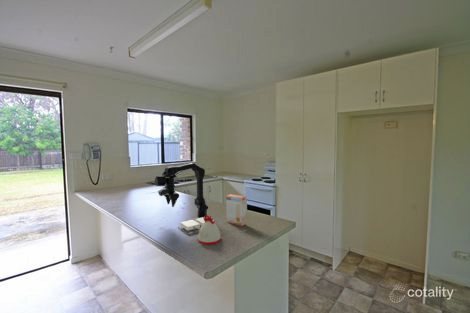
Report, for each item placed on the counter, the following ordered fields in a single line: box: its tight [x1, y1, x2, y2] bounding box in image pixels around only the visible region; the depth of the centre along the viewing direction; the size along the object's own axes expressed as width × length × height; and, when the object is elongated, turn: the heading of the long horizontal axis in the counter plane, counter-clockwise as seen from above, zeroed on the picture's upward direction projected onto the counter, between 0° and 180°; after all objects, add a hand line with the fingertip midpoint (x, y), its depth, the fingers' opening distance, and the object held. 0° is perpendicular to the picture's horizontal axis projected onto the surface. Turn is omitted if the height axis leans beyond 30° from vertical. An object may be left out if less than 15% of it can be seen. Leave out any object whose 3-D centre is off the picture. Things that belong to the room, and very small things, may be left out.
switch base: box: [177, 225, 201, 236], centre depth 151 cm, size 22×16×1 cm
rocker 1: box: [180, 219, 200, 230], centre depth 148 cm, size 9×12×2 cm
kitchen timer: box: [197, 215, 222, 246], centre depth 133 cm, size 14×14×15 cm
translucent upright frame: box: [225, 193, 247, 227], centre depth 160 cm, size 14×6×21 cm, turn 52°
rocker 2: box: [194, 217, 215, 226], centre depth 155 cm, size 9×12×2 cm
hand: (170, 205), depth 158 cm, fingers open, 9 cm apart
